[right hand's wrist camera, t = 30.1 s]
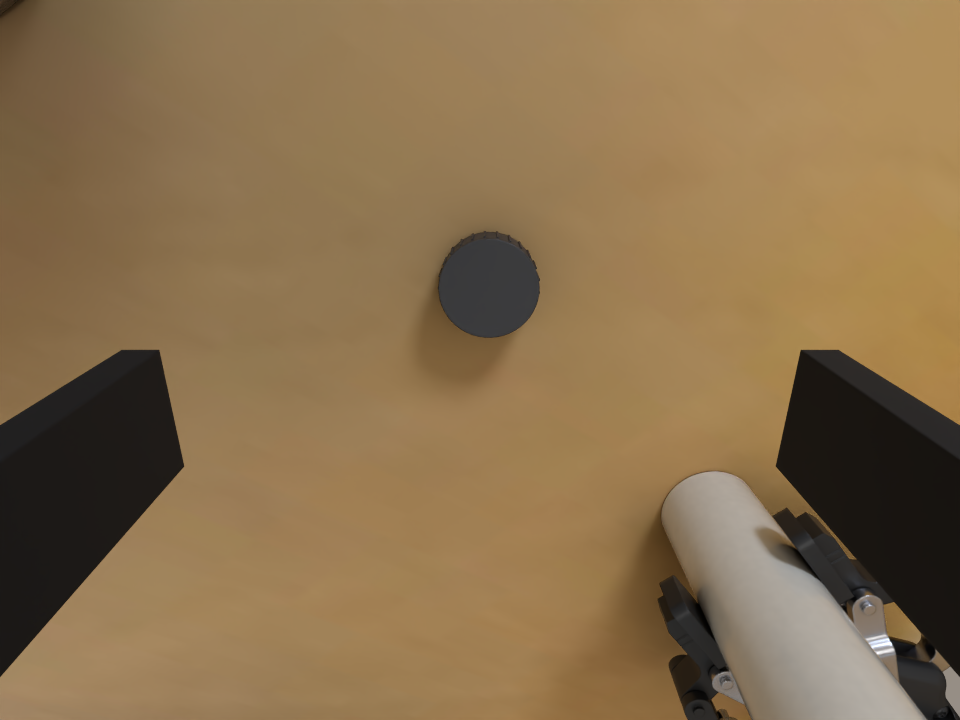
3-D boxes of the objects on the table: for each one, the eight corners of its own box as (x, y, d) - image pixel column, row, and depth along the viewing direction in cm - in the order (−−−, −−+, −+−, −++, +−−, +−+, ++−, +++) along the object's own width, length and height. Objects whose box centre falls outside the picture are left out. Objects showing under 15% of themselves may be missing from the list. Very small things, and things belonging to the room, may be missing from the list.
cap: (421, 282, 27) (415, 293, 25) (485, 209, 26) (485, 214, 24) (491, 343, 28) (492, 358, 26) (556, 275, 27) (562, 285, 25)
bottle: (675, 464, 30) (1061, 1120, 10) (768, 478, 30) (1332, 1148, 10) (650, 542, 32) (936, 1242, 12) (738, 555, 32) (1170, 1264, 12)
